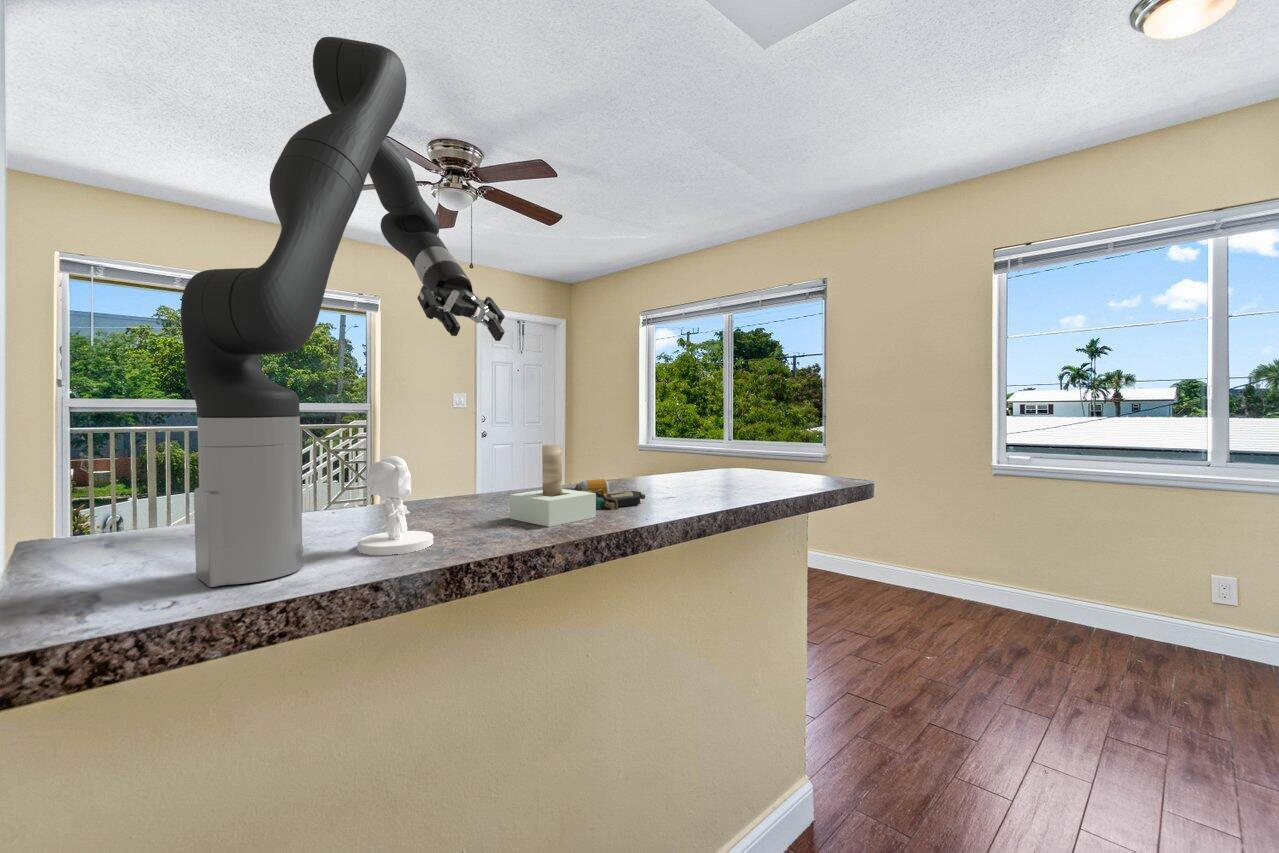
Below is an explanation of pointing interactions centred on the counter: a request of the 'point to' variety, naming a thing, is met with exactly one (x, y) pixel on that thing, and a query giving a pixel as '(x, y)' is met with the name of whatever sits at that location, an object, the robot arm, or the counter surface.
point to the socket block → (552, 507)
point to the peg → (552, 470)
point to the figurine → (392, 510)
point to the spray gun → (604, 497)
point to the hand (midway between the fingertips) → (479, 334)
